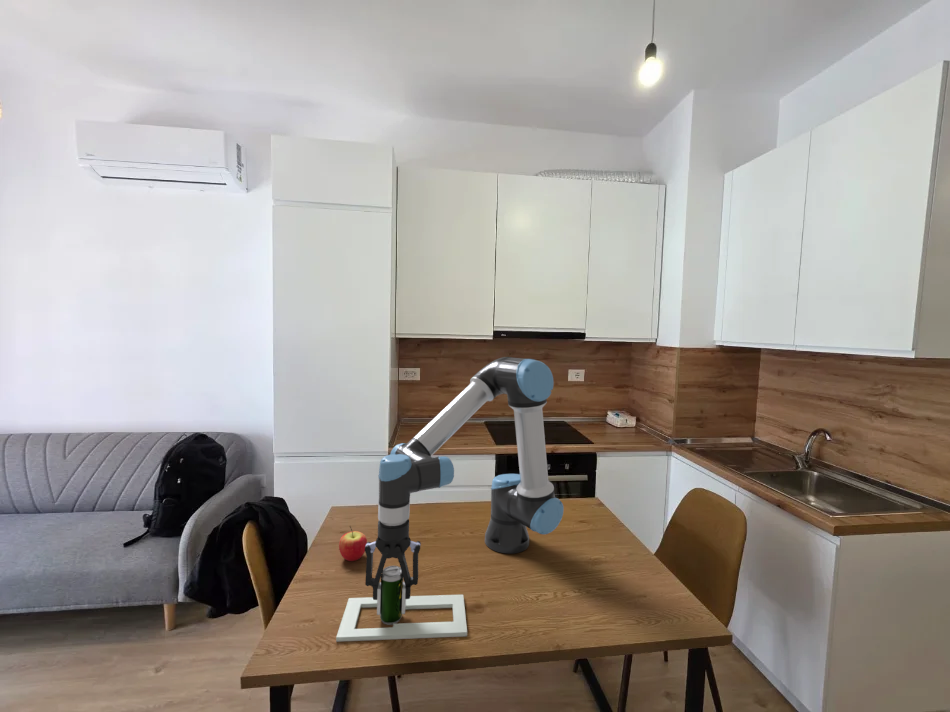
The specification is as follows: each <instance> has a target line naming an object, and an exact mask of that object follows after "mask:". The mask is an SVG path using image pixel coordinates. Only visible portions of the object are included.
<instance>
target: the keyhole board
mask: <svg viewBox="0 0 950 712" xmlns="http://www.w3.org/2000/svg"><path fill="white" fill-rule="evenodd" d="M464 597H465V596H464V594H441V595H439V594H437V595H434V594H433V595H410V599H406V608H405V610H423V609H424V610H425V609H426V610H429V609H430V610H431V609H451V608H452V619H453V620H452V621H435V622H433V621H432V622H430V621H429V622H404V623H403V622H402V623H401V622H400V623H396V624H393V625H392V627H374V628H373V627H371V628H370V627H368V628H367V627H366V628H356V627H357V624H358V619H359V615H360V612H361V609H362V608H364V609H365V608H377V600H373V596H372V597H371V596H370V597H349V598H348V599H347V603H346V607H345V610H344V612H343V615H342V618H341V620H340V621H341V622H340V624H339V628H338V631H337V634H336V636H335V639H336V642H358V641H360V642H361V641H362V642H363V641H382V640H383V641H384V640H405V639H406V640H408V639H410V640H411V639H430V638H431V639H432V638H433V639H434V638H435V639H437V638H454V637H455V638H456V637H459V638H460V637H468V627H467V620H466V619H467V618H466V617H467V616H466V609H465V599H464Z"/></svg>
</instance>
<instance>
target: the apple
mask: <svg viewBox="0 0 950 712" xmlns="http://www.w3.org/2000/svg"><path fill="white" fill-rule="evenodd" d="M349 528H350V531H348V532H346V533H344V534H343V535H342V536H341V537H340V539H339V542H338V548H339V549H338V550H339V553H340V555H341V557H342V558H343V559H344V560H346V561H348V562H354V561H358V560H360V559H361V558H363V556H364V554H365V546H366V543H367V542H368V538H367V536H366V535H365V534H364V533H363V532H361V531H358V530H353V529H352V526H351V525H349Z"/></svg>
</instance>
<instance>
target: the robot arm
mask: <svg viewBox="0 0 950 712" xmlns="http://www.w3.org/2000/svg"><path fill="white" fill-rule="evenodd" d="M469 382H470V383H469V384H468V385H467V386H466V387H465V388H464V389H463V390H462V391H461V392H460V393H459V394H457V396H455V397H454V399H452V400H451V402H449V403H448V404H447V405H446V406H445V407H444V408H443V409H442V410H440V412H439V413H437V415H436V416H434V417H433V418H432V420H430V421H429V422H428V423H427V424H426V425H425V426H424V427H423V428H422V429H421V430H419V432H418V433H416V434H415V436H413V438H411V439H410V440H409V441H408V442H406V443H403V442H402V443H397V444H396V445H394V447H393V448H391V450H390V454H389V455H388V454H387V455H385V456H383V457H382V458H381V459H380V462H379V467H378V469H379V470H378V503H377V504H378V505H377V506H378V508H377V509H378V510H377V511H378V512H377V519H378V521H377V537H376V540H374V541H373V542H370V541H367V543H366V546H365V552H364V554H365V555H366V560H365V561H366V562H365V566H366V567H365V582H364V583H365V586H367V587H369V586H370V587H371V588H372V597H373V600H377V607H376V615H377V616H380V608H381V575H382V571H383V569H384V568H385V564H386V562H387V559H397V560H398V561H397V562H398V563H399V567H400V568H401V571H402V575H403V588H402V615H405V614H406V609H405V608H406V599H410V596H411V594H412V593H411V589H412V586H417V585H418V583H419V553H420V550H421V546H422V545H421V544H422V542H421V541H419V540H417V541H413V540H411V537H410V509H411V507H410V506H411V505H410V504H411V499H410V498H411V494H412V493H417V492H422V491H427V490H433V489H437V488H438V489H439V488H441V487H445V486H448V485H450V484H452V482H453V481H454V477H455V468H454V464H453V462H452V460H451V459H450V457H448V456H440V455H438V456H436V457H433V455H434V454H436V453H437V451H438V450H439V449H441V447H442V446H443V445H444V444H445V443H446V442H447V441H448V440H450V439H451V437H453V435H455V434H456V432H457V431H458V430H460V429H461V427H462V426H463V425H464V424H465V423H467V421H468V420H469V419H471V417H472V416H473V415H475V413H477V411H478V410H479V409H481V408H482V406H484V405H485V404H486V403H487V402H492V401H494V399H495V398H496V397H497V396H501V395H506V397H507V404H508V405H507V406H508V407H510V408H511V409H512V410H513V415H514V416H513V417H514V427H515V428H514V429H515V437H516V438H515V439H516V447H517V457H518V467H519V468H518V469H519V473H502V474H498V475H496V476H494V477H493V479H492V482H491V487H490V493H491V494H490V497H491V498H490V518H489V519H490V520H489V522H488V526H487V528H486V531H485V534H484V543H485V545H486V546H487V547H488V548H489V549H490V550H492V551H495V552H498V553H501V554H502V553H503V554H510V555H511V554H518V553H522V552H524V551H526V550H527V549H528V548H529V546H530V536H529V532H528V529H529V530H531V531H532V532H535V533H538V534H540V535H548V534H550V533H552V532H553V531H555V529H557V527H558V526H559V524H560V523H561V521H562V519H563V515H564V508H565V507H564V504H563V502H562V501H561V500H560V498H557V497H556V496H555V487H554V484H553V482H552V481H550V480H549V474H548V470H549V469H548V460H547V449H546V439H545V438H546V435H545V427H544V425H545V424H544V413H543V409H544V407H545V406H546V404H547V403H548V401H547V400H548V398H549V397H550V396H551V395H552V391H553V389H554V385H555V384H554V376H553V373H552V371H551V368H550V367H549V366H548V365H547V364H545V363H544V362H542V361H540V360H537V359H534V358H522V357H511V356H503V357H500V358H497V359H494V360H493V361H491V362H489V363H487V364H486V365H485V366H483V368H481V369H480V370H479V371H477V372H476V373H475V374H474V375H473V376H472V377H471V378H470V380H469ZM527 528H528V529H527ZM408 548H410V551H411V552H412V576H411V574H410V571H409V566H408V562H407V558H406V555H405V552H406V551H407V550H408ZM376 549H378V552H380V554H381V557H380V559H379V564H378V566H377V570H376V573H375V576H374V577H373V565H374V563H373V562H374V552H375V550H376Z"/></svg>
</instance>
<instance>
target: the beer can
mask: <svg viewBox="0 0 950 712" xmlns="http://www.w3.org/2000/svg"><path fill="white" fill-rule="evenodd" d="M380 582H381V608H380V615H379V617H380V618H379V619H380V620H381V621H380V622H382V623H383V624H384V625H388V626H393V624H399V623H398V622H400V620H401V619H402V616H403V614H402V588H403V582H404V579H403V575H402V571H401V567H400V566H397V565H389V566H386V567H384V568H383V571H382V575H381V578H380Z"/></svg>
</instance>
